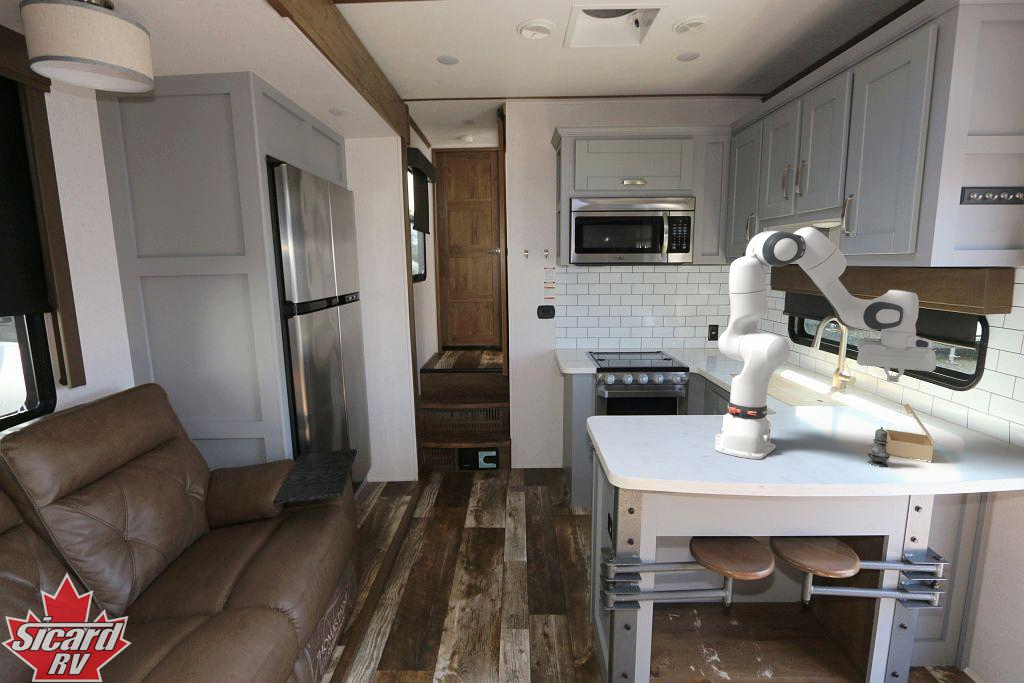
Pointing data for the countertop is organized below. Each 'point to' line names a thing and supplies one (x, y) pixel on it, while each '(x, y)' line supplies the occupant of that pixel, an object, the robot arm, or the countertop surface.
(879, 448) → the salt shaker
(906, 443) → the mailer box
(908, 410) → the lid
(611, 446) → the countertop surface
